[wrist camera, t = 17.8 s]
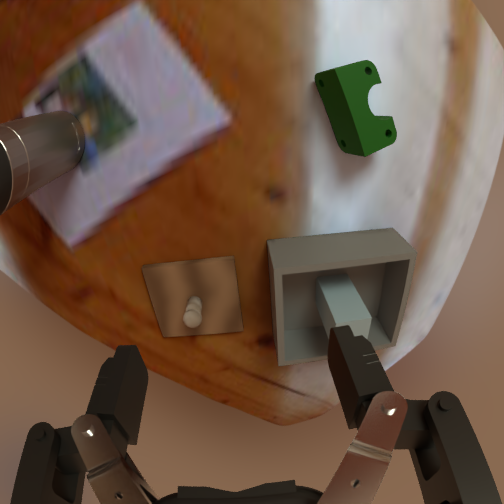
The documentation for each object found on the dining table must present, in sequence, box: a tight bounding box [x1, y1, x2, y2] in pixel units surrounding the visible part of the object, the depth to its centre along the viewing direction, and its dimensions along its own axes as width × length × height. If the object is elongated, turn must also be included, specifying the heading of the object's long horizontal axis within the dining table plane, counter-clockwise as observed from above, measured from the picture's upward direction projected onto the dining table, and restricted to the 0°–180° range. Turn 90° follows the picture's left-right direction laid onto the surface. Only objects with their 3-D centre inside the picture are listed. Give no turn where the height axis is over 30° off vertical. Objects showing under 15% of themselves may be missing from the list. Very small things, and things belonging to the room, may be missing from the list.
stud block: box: [142, 256, 243, 337], centre depth 47 cm, size 14×14×6 cm
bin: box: [267, 228, 417, 366], centre depth 47 cm, size 20×18×8 cm
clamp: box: [315, 60, 397, 157], centre depth 35 cm, size 12×6×9 cm, turn 17°
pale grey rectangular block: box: [315, 274, 372, 339], centre depth 45 cm, size 5×5×11 cm
